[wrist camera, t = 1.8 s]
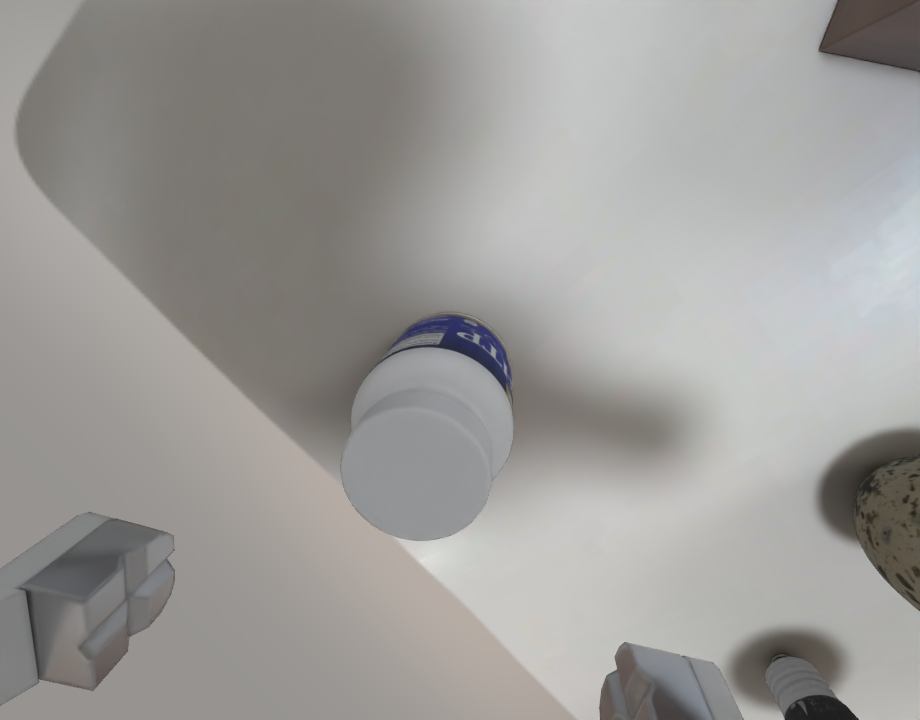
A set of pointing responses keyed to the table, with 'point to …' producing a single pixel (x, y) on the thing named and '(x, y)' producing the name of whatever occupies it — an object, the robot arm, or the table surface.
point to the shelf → (876, 31)
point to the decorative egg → (892, 524)
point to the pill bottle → (430, 429)
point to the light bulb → (803, 691)
